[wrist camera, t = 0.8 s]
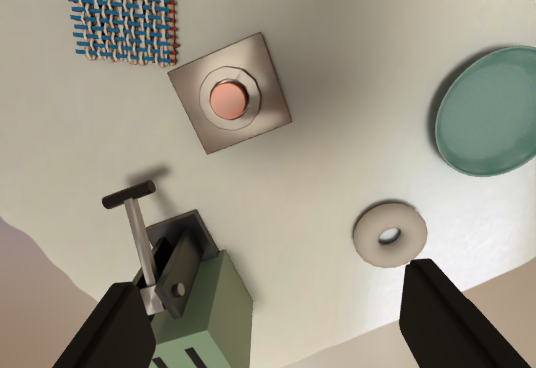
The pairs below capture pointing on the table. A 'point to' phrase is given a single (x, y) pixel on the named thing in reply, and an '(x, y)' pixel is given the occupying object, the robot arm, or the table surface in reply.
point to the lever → (140, 239)
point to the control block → (242, 73)
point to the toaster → (207, 322)
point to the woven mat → (127, 30)
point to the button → (228, 100)
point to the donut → (383, 220)
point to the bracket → (177, 259)
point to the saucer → (490, 114)
